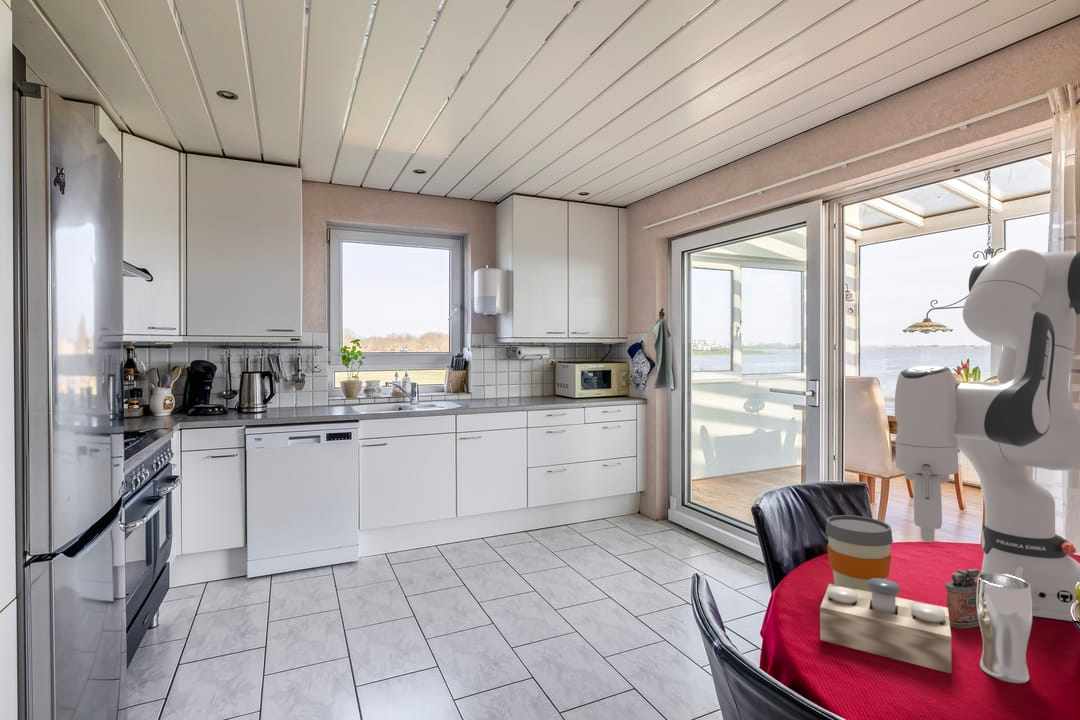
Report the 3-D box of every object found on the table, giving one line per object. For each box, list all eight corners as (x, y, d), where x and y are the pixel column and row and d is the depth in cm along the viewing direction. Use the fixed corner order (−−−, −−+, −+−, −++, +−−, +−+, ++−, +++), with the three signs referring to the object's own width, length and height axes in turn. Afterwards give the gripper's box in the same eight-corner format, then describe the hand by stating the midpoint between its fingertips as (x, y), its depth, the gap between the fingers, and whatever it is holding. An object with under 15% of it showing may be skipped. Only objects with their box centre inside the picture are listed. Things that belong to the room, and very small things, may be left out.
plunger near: (944, 646, 95) (944, 607, 95) (945, 659, 91) (945, 619, 91) (911, 638, 98) (911, 601, 98) (911, 650, 94) (910, 611, 94)
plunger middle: (900, 619, 99) (899, 581, 99) (899, 630, 95) (898, 591, 95) (869, 612, 102) (868, 576, 102) (867, 623, 98) (866, 585, 98)
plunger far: (858, 626, 103) (858, 590, 103) (856, 637, 99) (856, 600, 99) (830, 619, 106) (829, 584, 106) (826, 630, 102) (826, 593, 102)
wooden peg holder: (948, 640, 98) (947, 607, 98) (951, 673, 88) (951, 636, 88) (829, 613, 109) (829, 583, 109) (820, 640, 99) (820, 607, 99)
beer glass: (976, 655, 93) (976, 568, 93) (1031, 670, 89) (1031, 578, 89) (976, 674, 88) (975, 582, 88) (1034, 691, 83) (1033, 593, 83)
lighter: (958, 629, 102) (957, 576, 102) (940, 621, 105) (940, 569, 105) (990, 623, 104) (990, 571, 104) (972, 615, 107) (971, 564, 107)
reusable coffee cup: (890, 611, 109) (889, 537, 109) (821, 595, 117) (820, 525, 117) (895, 589, 119) (895, 521, 119) (831, 576, 127) (830, 511, 127)
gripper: (951, 473, 84) (953, 563, 84) (946, 451, 101) (948, 525, 101) (902, 470, 88) (904, 555, 88) (905, 448, 105) (907, 520, 105)
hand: (927, 539), depth 95 cm, fingers closed
